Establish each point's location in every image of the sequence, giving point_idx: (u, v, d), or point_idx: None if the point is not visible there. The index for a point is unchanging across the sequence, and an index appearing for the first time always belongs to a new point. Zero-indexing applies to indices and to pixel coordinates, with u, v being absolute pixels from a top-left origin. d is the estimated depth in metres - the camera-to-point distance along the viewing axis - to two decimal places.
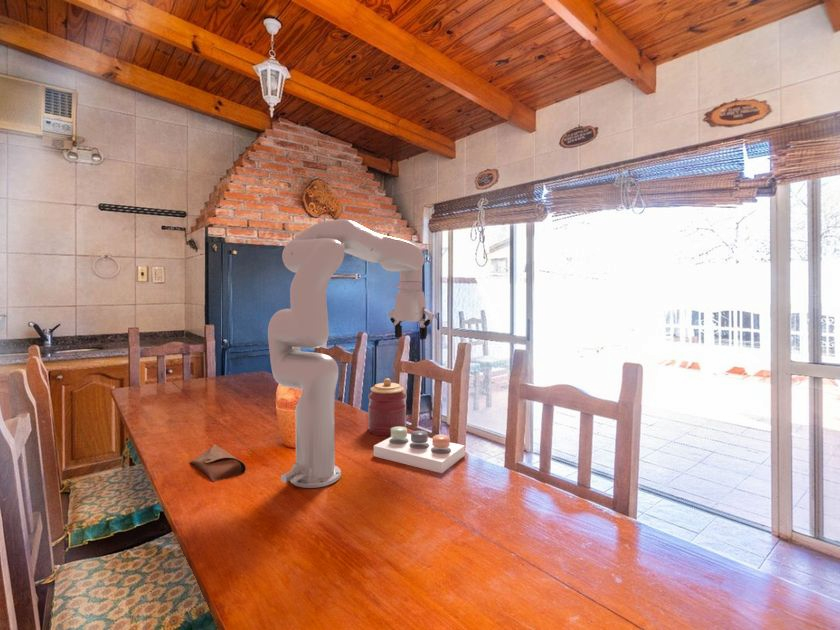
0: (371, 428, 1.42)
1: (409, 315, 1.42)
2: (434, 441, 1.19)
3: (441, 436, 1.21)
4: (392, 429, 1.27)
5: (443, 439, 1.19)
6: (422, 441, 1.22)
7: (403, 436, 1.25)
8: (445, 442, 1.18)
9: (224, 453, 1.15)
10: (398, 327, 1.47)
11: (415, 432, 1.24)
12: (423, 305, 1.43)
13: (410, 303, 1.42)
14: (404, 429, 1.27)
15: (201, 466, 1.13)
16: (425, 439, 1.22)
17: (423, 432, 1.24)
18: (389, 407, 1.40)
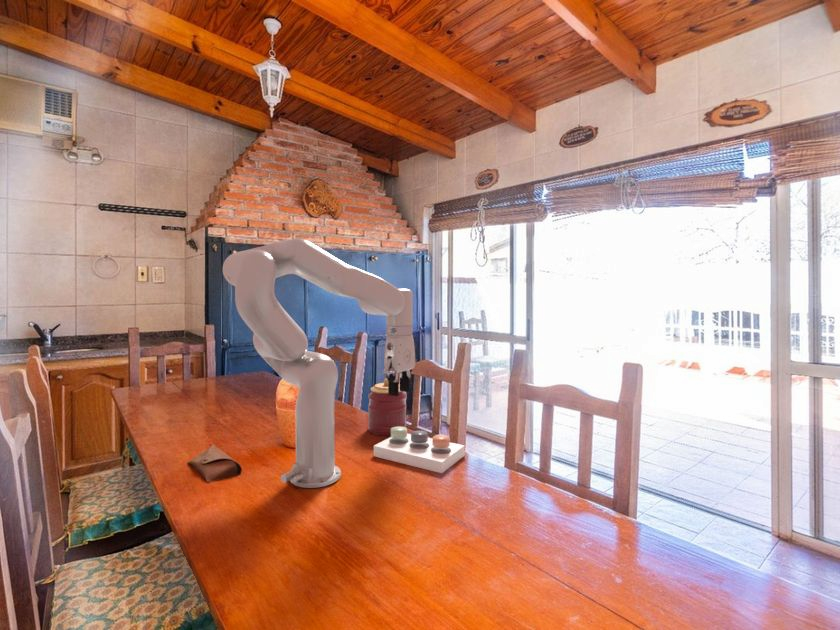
0: (371, 428, 1.42)
1: (409, 363, 1.26)
2: (434, 441, 1.19)
3: (441, 436, 1.21)
4: (392, 429, 1.27)
5: (443, 439, 1.19)
6: (422, 441, 1.22)
7: (403, 436, 1.25)
8: (445, 442, 1.18)
9: (221, 454, 1.15)
10: None
11: (415, 432, 1.24)
12: None
13: (410, 350, 1.26)
14: (404, 429, 1.27)
15: (198, 466, 1.13)
16: (425, 439, 1.22)
17: (423, 432, 1.24)
18: (389, 407, 1.40)
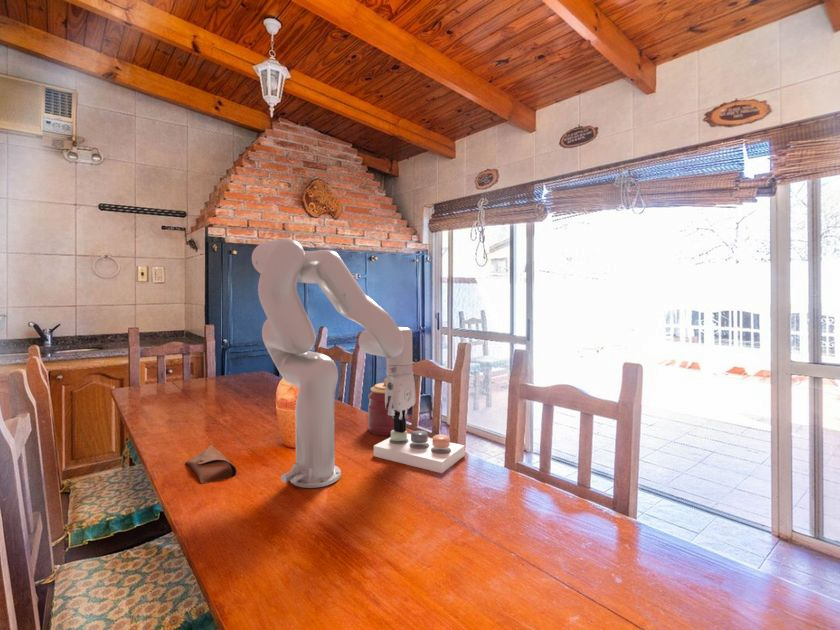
0: (371, 428, 1.42)
1: (410, 401, 1.26)
2: (434, 441, 1.19)
3: (441, 436, 1.21)
4: (392, 432, 1.27)
5: (443, 439, 1.19)
6: (422, 441, 1.22)
7: (403, 439, 1.25)
8: (445, 442, 1.18)
9: (217, 455, 1.14)
10: None
11: (415, 432, 1.24)
12: None
13: (410, 387, 1.27)
14: (404, 432, 1.27)
15: (194, 467, 1.12)
16: (425, 439, 1.22)
17: (423, 432, 1.24)
18: None
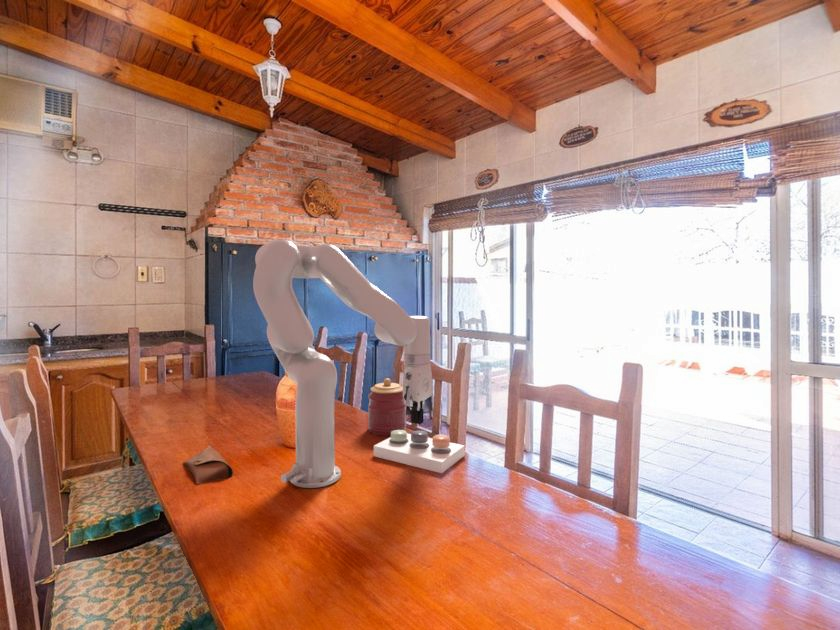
0: (371, 428, 1.42)
1: (427, 391, 1.23)
2: (434, 441, 1.19)
3: (441, 436, 1.21)
4: (392, 432, 1.27)
5: (443, 439, 1.19)
6: (422, 441, 1.22)
7: (403, 440, 1.25)
8: (445, 442, 1.18)
9: (214, 455, 1.14)
10: None
11: (415, 432, 1.24)
12: None
13: (428, 378, 1.24)
14: (404, 432, 1.27)
15: (191, 467, 1.12)
16: (425, 439, 1.22)
17: (423, 432, 1.24)
18: (389, 407, 1.40)
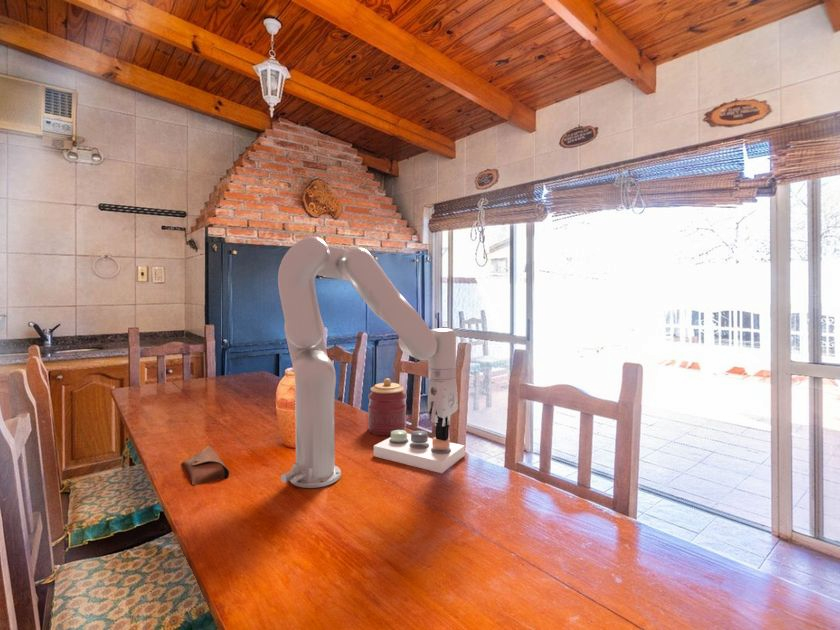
0: (371, 428, 1.42)
1: (453, 407, 1.19)
2: (434, 442, 1.19)
3: None
4: (392, 432, 1.27)
5: (443, 440, 1.19)
6: (422, 441, 1.22)
7: (403, 440, 1.25)
8: (445, 443, 1.18)
9: (212, 456, 1.13)
10: None
11: (415, 432, 1.24)
12: None
13: (453, 392, 1.19)
14: (404, 432, 1.27)
15: (188, 467, 1.12)
16: (425, 439, 1.22)
17: (423, 432, 1.24)
18: (389, 407, 1.40)
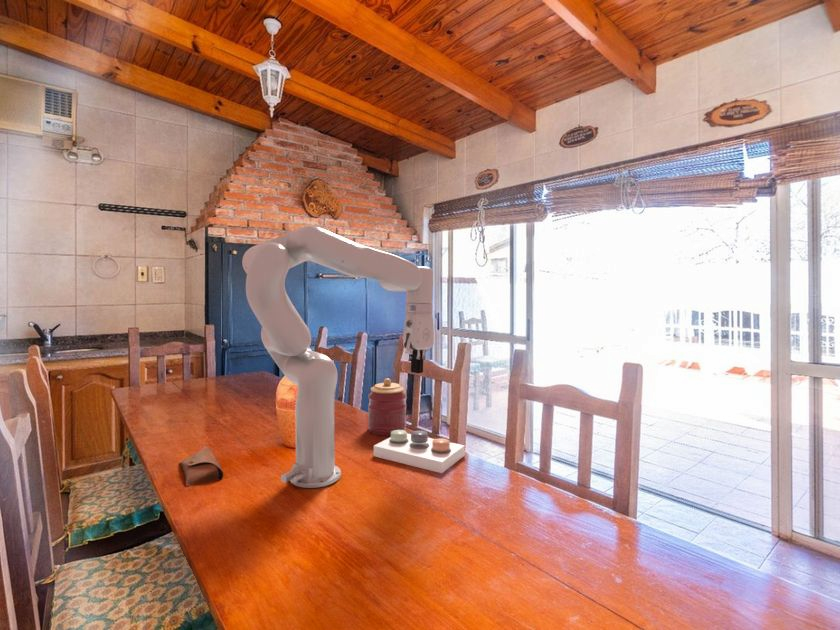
0: (371, 428, 1.42)
1: (428, 341, 1.25)
2: (434, 445, 1.19)
3: (441, 440, 1.21)
4: (392, 432, 1.27)
5: (443, 443, 1.19)
6: (422, 441, 1.22)
7: (403, 440, 1.25)
8: (445, 445, 1.18)
9: (208, 457, 1.13)
10: None
11: (415, 432, 1.24)
12: None
13: (429, 328, 1.25)
14: (404, 432, 1.27)
15: (184, 468, 1.11)
16: (425, 439, 1.22)
17: (423, 432, 1.24)
18: (389, 407, 1.40)
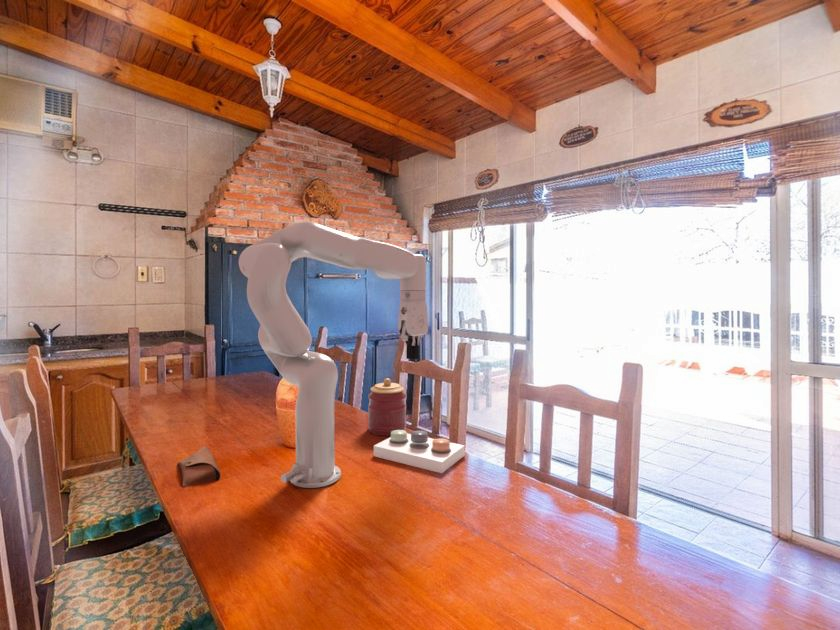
0: (371, 428, 1.42)
1: (422, 328, 1.27)
2: (434, 445, 1.19)
3: (441, 440, 1.21)
4: (392, 432, 1.27)
5: (443, 443, 1.19)
6: (422, 441, 1.22)
7: (403, 440, 1.25)
8: (445, 445, 1.18)
9: (205, 457, 1.13)
10: None
11: (415, 432, 1.24)
12: None
13: (423, 315, 1.28)
14: (404, 432, 1.27)
15: (182, 468, 1.11)
16: (425, 439, 1.22)
17: (423, 432, 1.24)
18: (389, 407, 1.40)
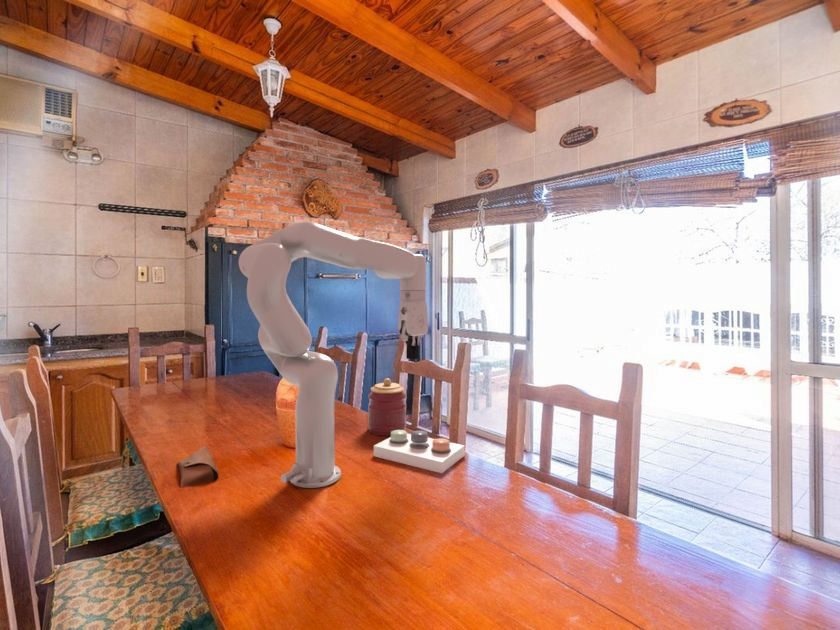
0: (371, 428, 1.42)
1: (422, 328, 1.27)
2: (434, 445, 1.19)
3: (441, 440, 1.21)
4: (392, 432, 1.27)
5: (443, 443, 1.19)
6: (422, 441, 1.22)
7: (403, 440, 1.25)
8: (445, 445, 1.18)
9: (204, 458, 1.12)
10: None
11: (415, 432, 1.24)
12: None
13: (423, 315, 1.28)
14: (404, 432, 1.27)
15: (181, 469, 1.11)
16: (425, 439, 1.22)
17: (423, 432, 1.24)
18: (389, 407, 1.40)
